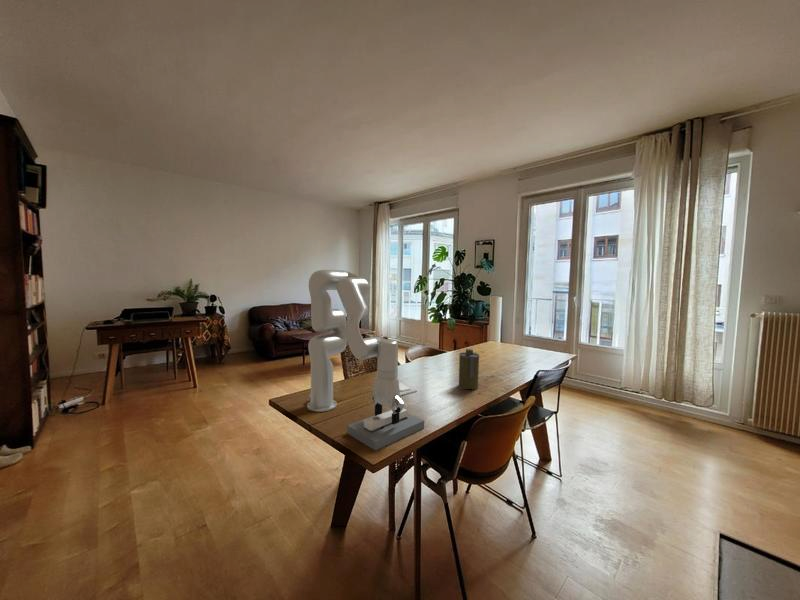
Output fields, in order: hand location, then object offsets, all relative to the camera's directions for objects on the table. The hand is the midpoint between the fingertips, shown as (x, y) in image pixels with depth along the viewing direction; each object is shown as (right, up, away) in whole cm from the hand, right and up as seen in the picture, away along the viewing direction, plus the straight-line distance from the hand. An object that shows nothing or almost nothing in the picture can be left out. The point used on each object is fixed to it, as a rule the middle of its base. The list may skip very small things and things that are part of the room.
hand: (386, 419), depth 120 cm
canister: (+41, -2, +51) cm, 66 cm away
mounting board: (0, -4, 0) cm, 5 cm away
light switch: (+5, -3, +44) cm, 44 cm away
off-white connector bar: (0, -4, 0) cm, 5 cm away
